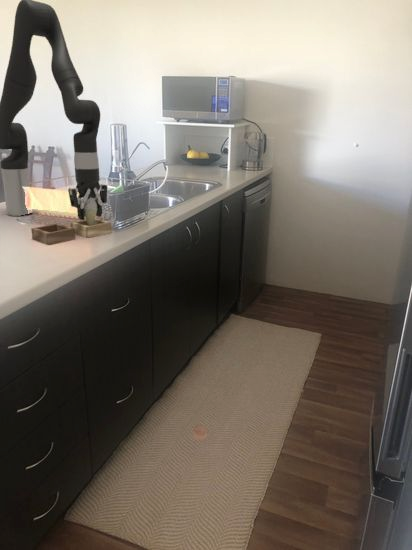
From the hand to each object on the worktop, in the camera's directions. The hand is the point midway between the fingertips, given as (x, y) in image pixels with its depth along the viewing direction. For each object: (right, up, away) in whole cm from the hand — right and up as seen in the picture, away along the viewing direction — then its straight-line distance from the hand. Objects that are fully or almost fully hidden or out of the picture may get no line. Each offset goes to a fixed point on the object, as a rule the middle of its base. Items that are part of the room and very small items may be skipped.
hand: (90, 217), depth 144 cm
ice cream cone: (0, -5, +2) cm, 5 cm away
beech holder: (0, -5, +2) cm, 5 cm away
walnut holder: (-10, -8, -7) cm, 14 cm away
